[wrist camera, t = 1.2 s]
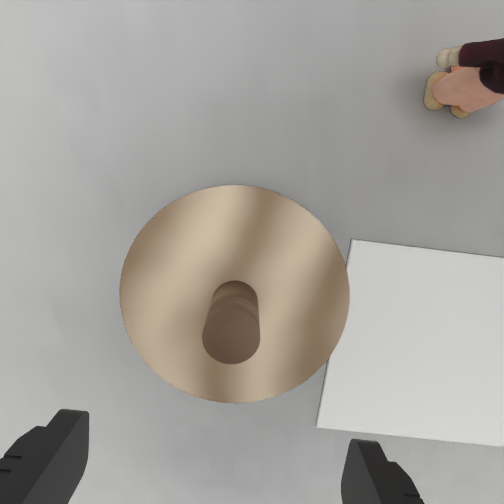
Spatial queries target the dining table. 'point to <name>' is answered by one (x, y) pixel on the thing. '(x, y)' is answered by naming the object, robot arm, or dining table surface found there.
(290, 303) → the lid
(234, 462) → the dining table surface
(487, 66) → the grandmother figurine
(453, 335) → the mat
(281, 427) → the dining table surface
